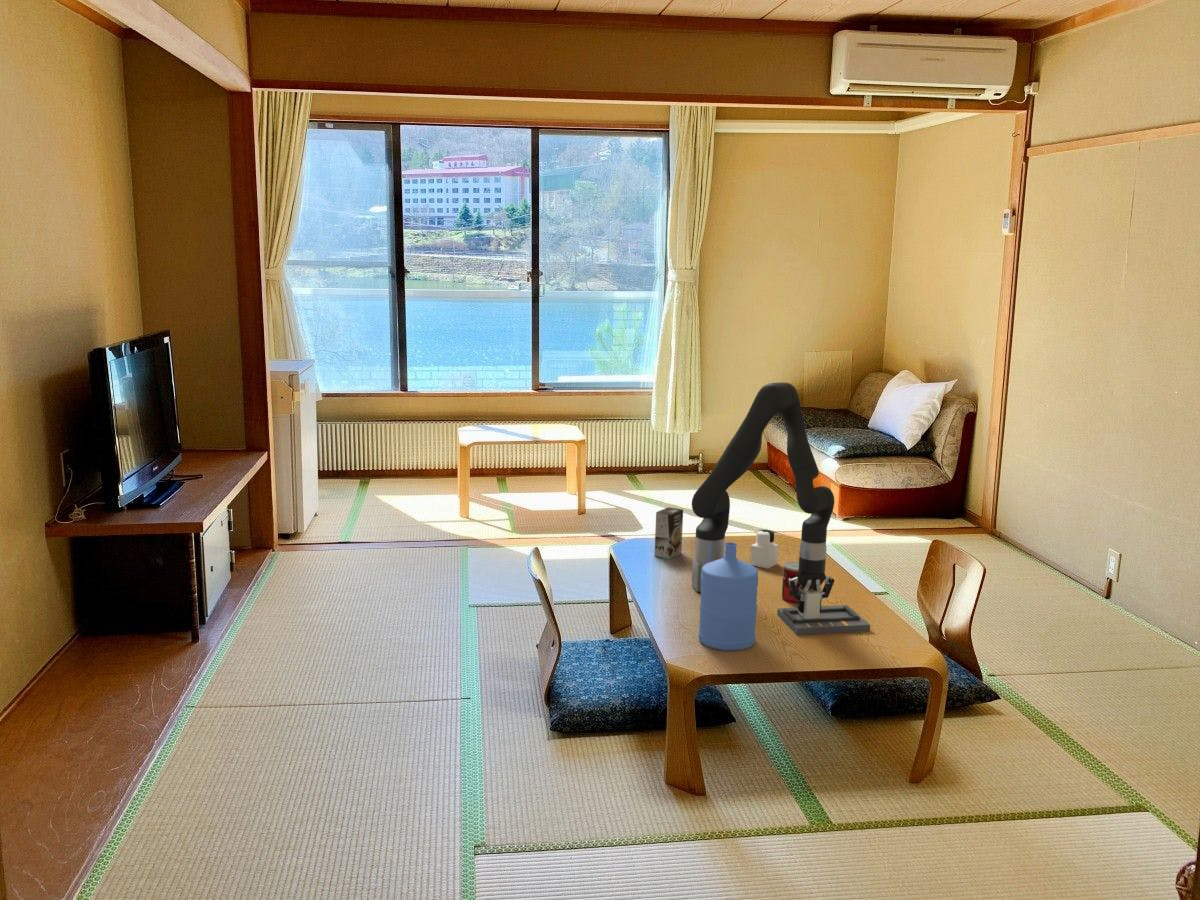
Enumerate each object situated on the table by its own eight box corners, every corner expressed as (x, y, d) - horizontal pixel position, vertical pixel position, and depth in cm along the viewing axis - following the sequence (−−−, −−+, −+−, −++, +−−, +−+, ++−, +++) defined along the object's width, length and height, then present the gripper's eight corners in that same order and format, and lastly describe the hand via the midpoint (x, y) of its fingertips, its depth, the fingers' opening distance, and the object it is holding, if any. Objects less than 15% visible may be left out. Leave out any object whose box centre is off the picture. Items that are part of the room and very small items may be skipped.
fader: (805, 620, 290) (807, 593, 288) (798, 612, 296) (799, 586, 294) (819, 619, 291) (820, 592, 289) (811, 612, 297) (812, 585, 295)
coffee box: (669, 559, 350) (671, 514, 347) (653, 556, 354) (655, 511, 350) (682, 553, 358) (684, 509, 354) (666, 549, 361) (668, 506, 358)
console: (797, 635, 285) (797, 624, 284) (777, 614, 300) (777, 604, 300) (869, 631, 289) (870, 620, 288) (846, 611, 304) (847, 601, 304)
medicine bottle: (759, 560, 352) (760, 526, 349) (777, 564, 348) (779, 530, 345) (749, 565, 346) (751, 531, 343) (768, 569, 342) (770, 535, 339)
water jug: (764, 648, 275) (769, 550, 269) (711, 654, 271) (715, 554, 265) (740, 627, 290) (745, 534, 284) (689, 633, 285) (693, 538, 280)
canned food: (790, 593, 319) (792, 559, 317) (812, 599, 314) (814, 566, 311) (776, 598, 314) (778, 565, 312) (798, 605, 308) (800, 571, 306)
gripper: (793, 560, 285) (790, 617, 288) (841, 558, 287) (837, 615, 291) (784, 552, 292) (781, 608, 295) (830, 550, 294) (827, 606, 298)
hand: (809, 611), depth 293 cm, fingers closed on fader, 4 cm apart
